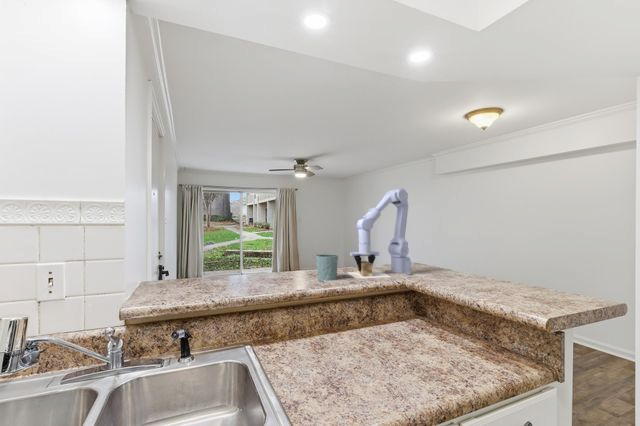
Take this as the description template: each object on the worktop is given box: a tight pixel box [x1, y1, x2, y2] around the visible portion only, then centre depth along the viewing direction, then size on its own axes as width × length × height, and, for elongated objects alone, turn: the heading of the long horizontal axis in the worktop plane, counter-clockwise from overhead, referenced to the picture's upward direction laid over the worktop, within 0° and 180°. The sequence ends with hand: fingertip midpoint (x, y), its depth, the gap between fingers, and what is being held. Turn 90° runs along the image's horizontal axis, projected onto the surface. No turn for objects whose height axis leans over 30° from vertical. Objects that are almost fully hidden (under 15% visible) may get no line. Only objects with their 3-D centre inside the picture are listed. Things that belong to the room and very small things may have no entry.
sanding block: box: [356, 260, 373, 277], centre depth 147 cm, size 4×10×6 cm, turn 9°
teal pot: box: [315, 253, 339, 284], centre depth 137 cm, size 10×10×12 cm
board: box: [346, 270, 392, 280], centre depth 146 cm, size 18×16×1 cm
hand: (364, 270), depth 146 cm, fingers closed on sanding block, 4 cm apart
